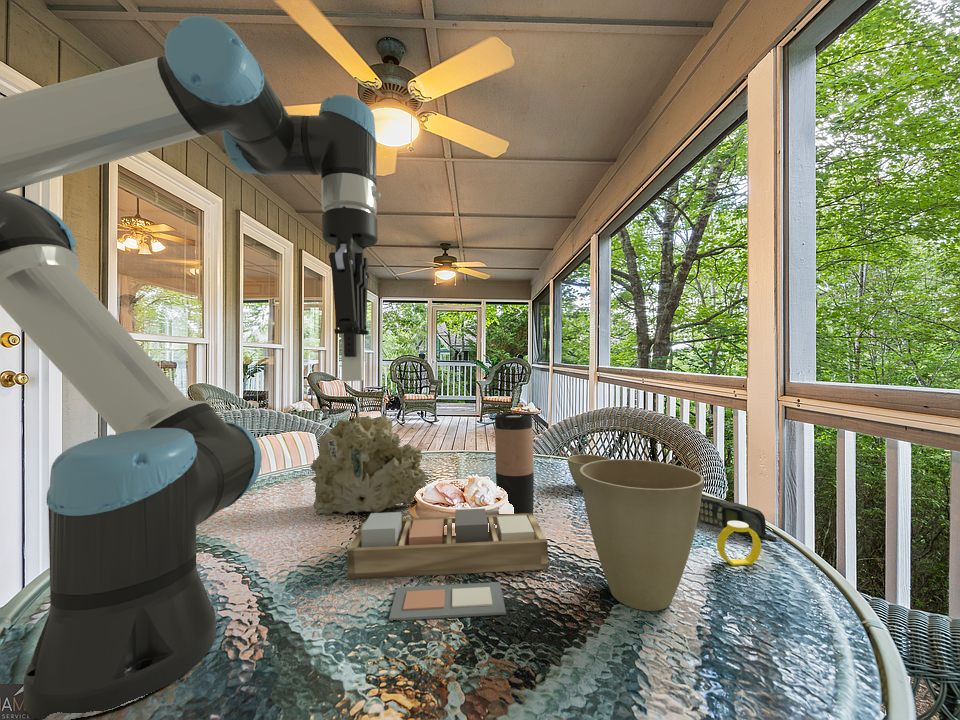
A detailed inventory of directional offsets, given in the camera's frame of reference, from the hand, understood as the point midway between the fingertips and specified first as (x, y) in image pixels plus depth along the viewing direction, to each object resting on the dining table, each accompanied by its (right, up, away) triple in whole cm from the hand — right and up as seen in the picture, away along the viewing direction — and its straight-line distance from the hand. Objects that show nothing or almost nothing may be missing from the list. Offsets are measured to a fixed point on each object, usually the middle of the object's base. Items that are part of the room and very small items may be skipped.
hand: (353, 380), depth 59 cm
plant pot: (+39, -28, -5) cm, 48 cm away
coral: (-5, -29, +29) cm, 42 cm away
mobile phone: (+63, -28, +16) cm, 70 cm away
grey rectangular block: (+17, -25, +8) cm, 31 cm away
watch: (+56, -28, +3) cm, 63 cm away
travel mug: (+25, -28, +25) cm, 46 cm away
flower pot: (+44, -28, +41) cm, 67 cm away
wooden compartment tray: (+13, -28, +7) cm, 32 cm away
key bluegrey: (+3, -25, +7) cm, 26 cm away
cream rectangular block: (+24, -26, +8) cm, 36 cm away
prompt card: (+14, -28, -6) cm, 32 cm away
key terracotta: (+10, -27, +7) cm, 29 cm away
